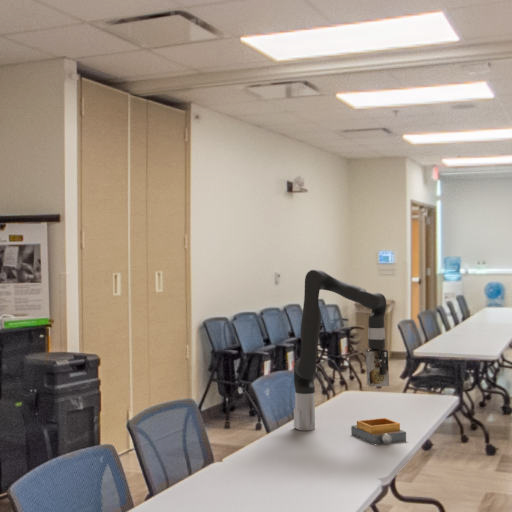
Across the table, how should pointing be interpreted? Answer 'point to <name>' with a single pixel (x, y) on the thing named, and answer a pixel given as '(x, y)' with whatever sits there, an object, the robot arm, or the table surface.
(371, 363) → the coffee box
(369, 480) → the table surface
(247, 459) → the table surface
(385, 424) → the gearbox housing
